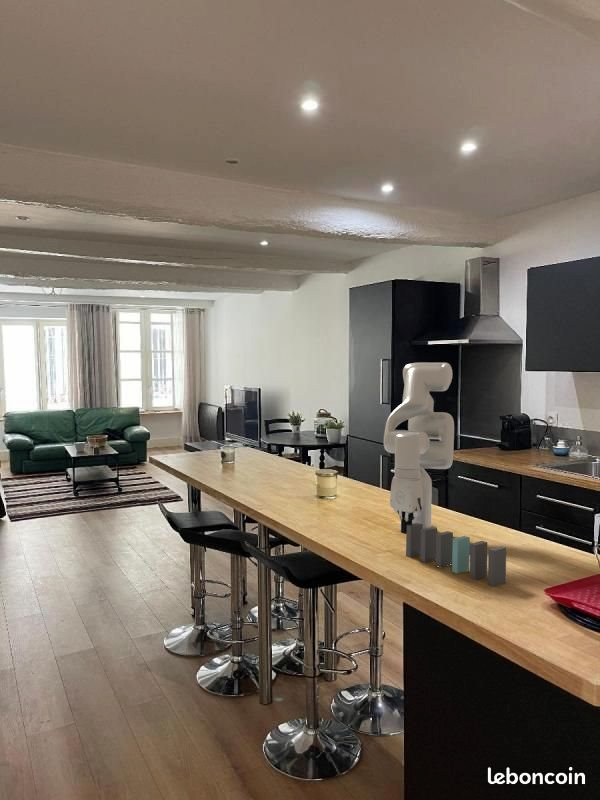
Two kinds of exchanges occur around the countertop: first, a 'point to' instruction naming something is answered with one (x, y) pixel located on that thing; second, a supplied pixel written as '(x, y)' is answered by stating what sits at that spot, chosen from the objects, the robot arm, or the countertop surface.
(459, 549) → the tile
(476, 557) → the tile
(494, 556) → the tile
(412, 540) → the tile
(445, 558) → the tile
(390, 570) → the countertop surface
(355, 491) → the countertop surface
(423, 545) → the tile
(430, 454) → the robot arm
